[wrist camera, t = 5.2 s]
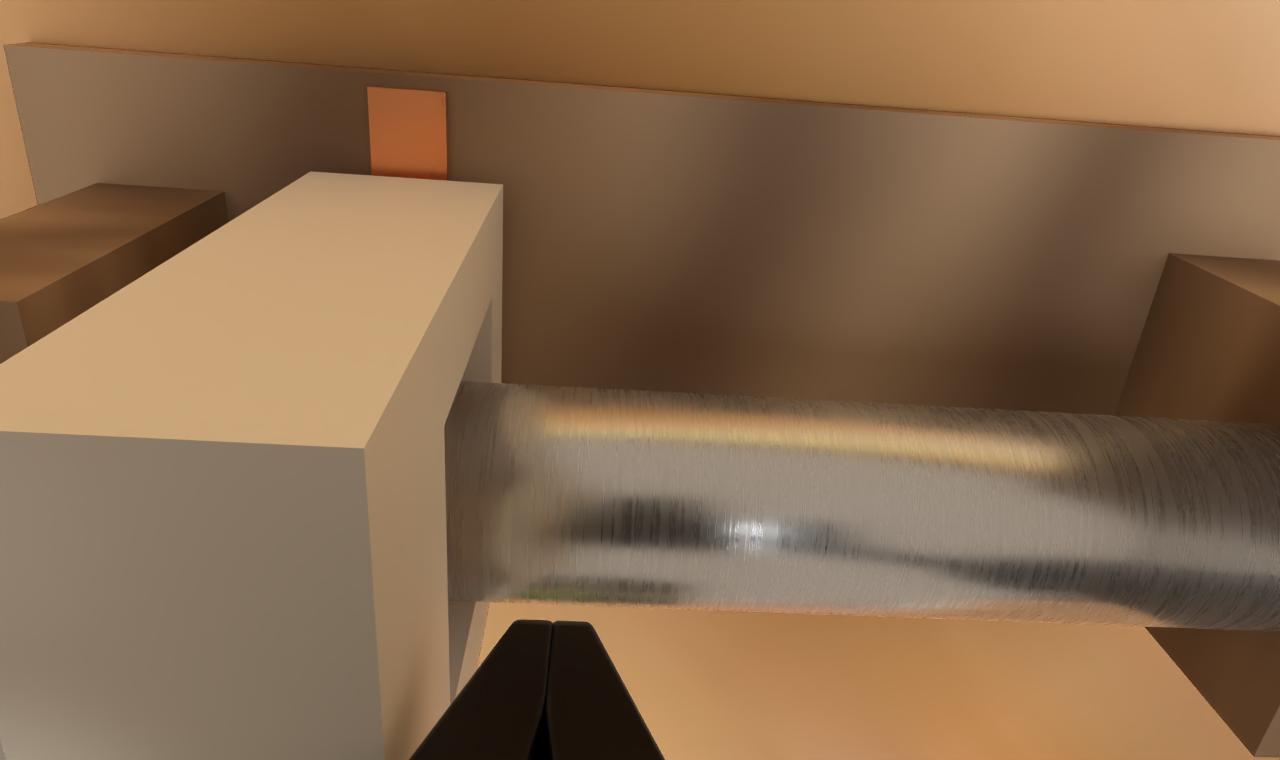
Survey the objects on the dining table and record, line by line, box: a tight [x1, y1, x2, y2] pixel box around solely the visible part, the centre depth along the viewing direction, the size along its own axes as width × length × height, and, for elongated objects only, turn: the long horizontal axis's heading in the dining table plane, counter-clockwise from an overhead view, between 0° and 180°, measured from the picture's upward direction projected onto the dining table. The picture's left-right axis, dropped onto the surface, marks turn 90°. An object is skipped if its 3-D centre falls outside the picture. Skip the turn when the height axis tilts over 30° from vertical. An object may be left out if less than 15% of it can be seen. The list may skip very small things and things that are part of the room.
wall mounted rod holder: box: [0, 43, 1280, 757], centre depth 13 cm, size 22×10×6 cm, turn 86°
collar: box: [0, 171, 503, 760], centre depth 11 cm, size 3×7×9 cm, turn 176°
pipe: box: [367, 86, 1280, 631], centre depth 13 cm, size 20×10×6 cm, turn 86°
